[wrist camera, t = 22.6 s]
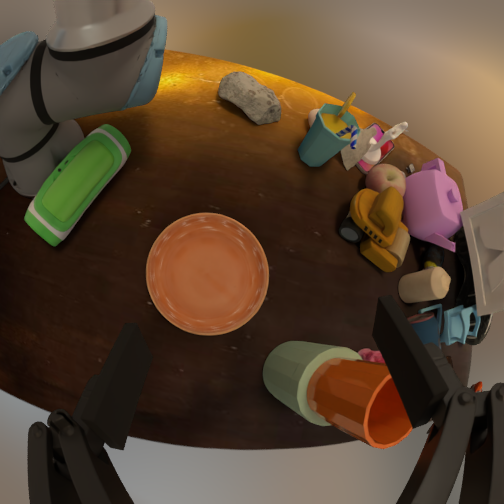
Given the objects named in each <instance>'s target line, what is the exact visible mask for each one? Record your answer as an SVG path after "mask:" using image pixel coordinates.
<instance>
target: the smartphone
mask: <svg viewBox="0 0 504 504" xmlns="http://www.w3.org/2000/svg"><path fill="white" fill-rule="evenodd" d="M372 127H375V128H376V130H377V134H376V135H375V136H373V138H374V139H375V140H376V141H377V143H378V142H379V140H380V139H381V137H382V136H383V135H384V133H385V132H384V131H383V130H382V129H381V127H380V126H379V125H378V124H376V123H373V124H372V125H370V126H369V127H367V128H366V129H369V128H372ZM393 149H394V144H393V142H392V141H391V140H388V141H387V142H386V143H385V144H383V145H382V146H381V147H380V150H381V157H380V160H379V162H378V163H377V164H375V165H371V164H368V163H366V162H365V161H363V160H362V159H361V160H360V161H359V162H357V163H356V164H355V165H356V166H357V167H358V169H359V170H360V171H361V172H362V173H363V174H368V172H369V171H370V170H371V169H372V168H373V167H374V166H376V165H378V164H379V163H380V162H381V161H382V160H383V159H384V158H385V157H386V156H387V155H388V154H389V153H390V152H391V151H392V150H393Z"/></svg>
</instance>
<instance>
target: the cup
mask: <svg viewBox="0 0 504 504" xmlns="http://www.w3.org/2000/svg"><path fill="white" fill-rule="evenodd" d="M355 96H356V94H355V93H354V92H352V94H351V95H350V96H349V97H348V99H347V100H346V102H345V103H344V105H343V106H342V107H341V106H338V105H332V104H324V105H323V106H322V107H321V108H320V110H319V111H318V112H317V114H316V119H315V121H314V123H313V124H312V126H311V128H310V129H309V131H308V133H307V135H306V136H305V138H304V140H303V142H302V143H301V145H300V147H299V148H298V152H299V155H300V159H301V160H302V161H304V162H305V163H306V164H307V165H309V166H315V167H320V166H321V165H322V164H324V163H325V162H326V161H327V160H329V159H330V158H331V157H333V156H334V155H335V154H337V153H338V152H339V151H340V150H342V149H343V148H344V147H346V146H347V145H348V144H350V148H351V149H356V143H357V138H358V136H359V134H360V132H361V131H360V129H359V126H358V124H357V122H356V120H355V117H354V116H353V115H351V114H350V113H349V112H348V111H347V109H348V108H349V107H350V105H351V103H352V102H353V100H354V98H355Z"/></svg>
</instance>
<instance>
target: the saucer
mask: <svg viewBox="0 0 504 504" xmlns="http://www.w3.org/2000/svg"><path fill="white" fill-rule="evenodd" d="M146 281H147V287H148V291H149V294H150V296H151V299H152V301H153V303H154V305H155V306H156V308H157V309H158V311H159V312H160V313H161V314H162V315H163V316H164V317H165V318H166V319H167V320H168V321H169V322H171V323H172V324H173V325H175V326H176V327H178V328H180V329H182V330H184V331H187V332H190V333H193V334H198V335H220V334H224V333H228V332H231V331H233V330H235V329H237V328H239V327H241V326H242V325H244V324H245V323H247V322H248V321H249V320H250V319H251V318H252V317H253V316H254V315H255V314H256V313H257V311H258V310H259V308H260V307H261V305H262V303H263V301H264V298H265V296H266V293H267V289H268V283H269V269H268V263H267V259H266V256H265V253H264V251H263V249H262V246H261V245H260V243H259V241H258V240H257V239H256V237H255V236H254V235H253V234H252V233H251V232H250V231H249V230H248V229H247V228H246V227H245V226H244V225H242V224H241V223H239V222H238V221H236V220H234V219H232V218H230V217H227V216H224V215H220V214H215V213H197V214H192V215H189V216H186V217H183V218H181V219H179V220H177V221H175V222H174V223H172V224H171V225H169V226H168V227H167V228H166V229H165V230H164V231H163V232H162V233H161V234H160V235H159V236H158V238H157V239H156V241H155V242H154V244H153V246H152V248H151V250H150V253H149V256H148V260H147V265H146Z"/></svg>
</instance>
